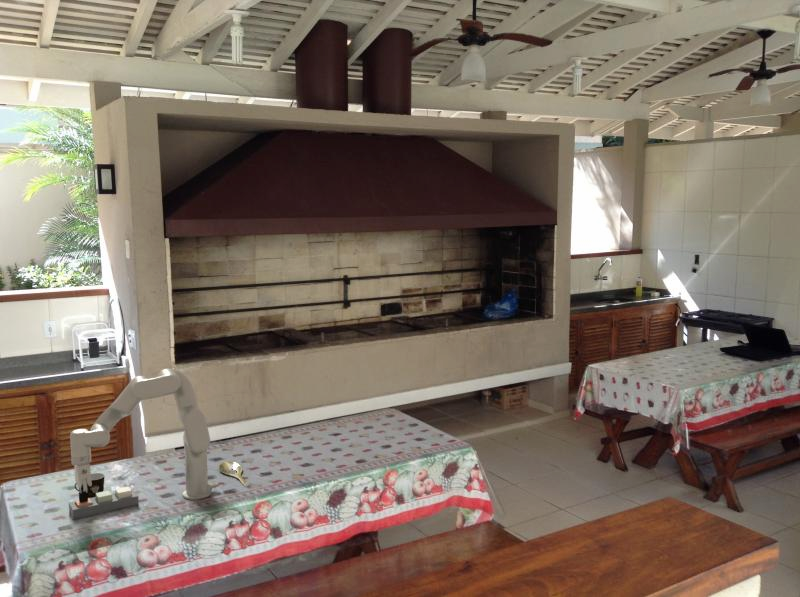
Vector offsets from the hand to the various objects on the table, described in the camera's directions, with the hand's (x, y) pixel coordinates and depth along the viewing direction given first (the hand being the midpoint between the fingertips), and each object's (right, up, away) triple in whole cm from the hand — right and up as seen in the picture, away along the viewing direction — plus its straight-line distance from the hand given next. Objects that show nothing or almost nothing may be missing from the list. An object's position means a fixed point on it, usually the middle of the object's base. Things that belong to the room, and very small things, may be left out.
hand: (83, 501), depth 299 cm
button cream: (+13, -2, +9) cm, 16 cm away
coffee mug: (-4, -4, +17) cm, 18 cm away
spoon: (+54, -1, +43) cm, 69 cm away
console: (+7, -5, +5) cm, 10 cm away
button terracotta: (0, -4, 0) cm, 4 cm away
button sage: (+7, -2, +5) cm, 8 cm away
